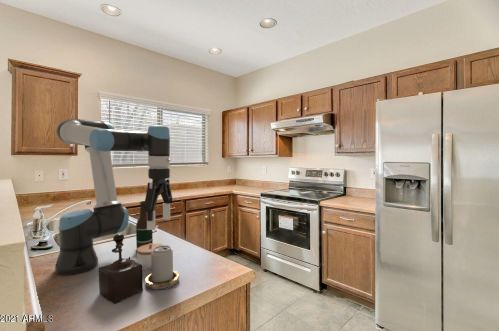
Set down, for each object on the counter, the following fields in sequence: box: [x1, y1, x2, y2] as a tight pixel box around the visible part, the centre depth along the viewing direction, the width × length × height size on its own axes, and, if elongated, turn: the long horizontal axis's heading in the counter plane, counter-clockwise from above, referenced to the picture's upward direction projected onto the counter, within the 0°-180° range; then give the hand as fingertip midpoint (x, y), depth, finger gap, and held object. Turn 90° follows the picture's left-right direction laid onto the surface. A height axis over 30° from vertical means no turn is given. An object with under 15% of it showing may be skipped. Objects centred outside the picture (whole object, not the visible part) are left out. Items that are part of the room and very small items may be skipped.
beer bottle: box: [135, 200, 154, 250], centre depth 131 cm, size 8×8×24 cm
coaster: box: [145, 270, 180, 291], centre depth 97 cm, size 12×12×2 cm
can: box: [151, 244, 174, 283], centre depth 97 cm, size 8×8×12 cm
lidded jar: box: [136, 243, 163, 269], centre depth 112 cm, size 11×11×9 cm
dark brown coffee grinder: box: [97, 233, 144, 305], centre depth 91 cm, size 16×11×18 cm
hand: (159, 224), depth 98 cm, fingers open, 13 cm apart
